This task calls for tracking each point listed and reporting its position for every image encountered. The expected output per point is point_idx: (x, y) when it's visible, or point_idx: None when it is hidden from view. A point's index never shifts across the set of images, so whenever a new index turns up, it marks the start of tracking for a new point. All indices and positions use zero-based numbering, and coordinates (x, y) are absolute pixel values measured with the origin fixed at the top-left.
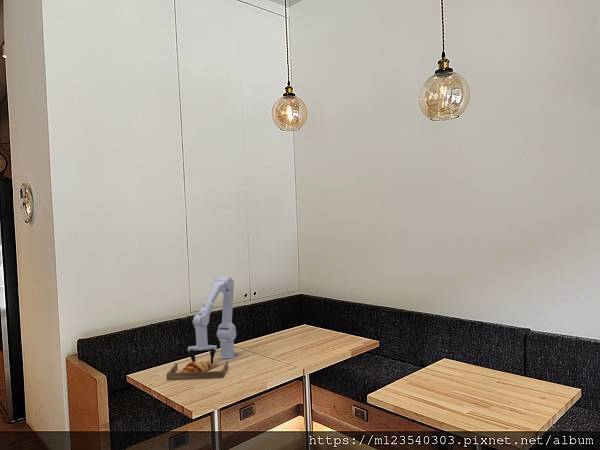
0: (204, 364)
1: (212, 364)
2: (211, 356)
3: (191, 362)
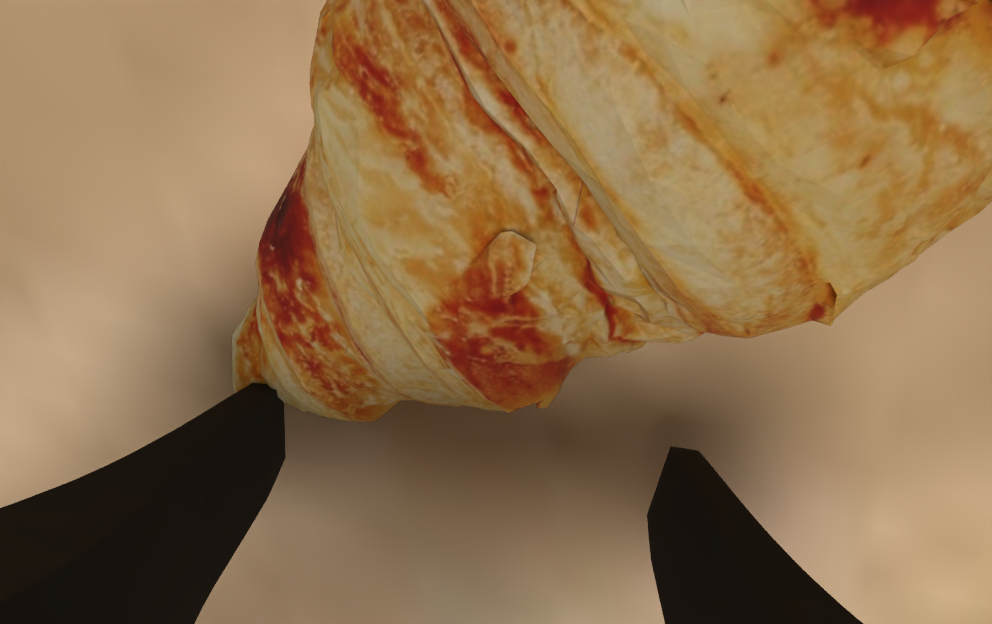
0: (350, 120)
1: (240, 362)
2: (116, 494)
3: (935, 7)
